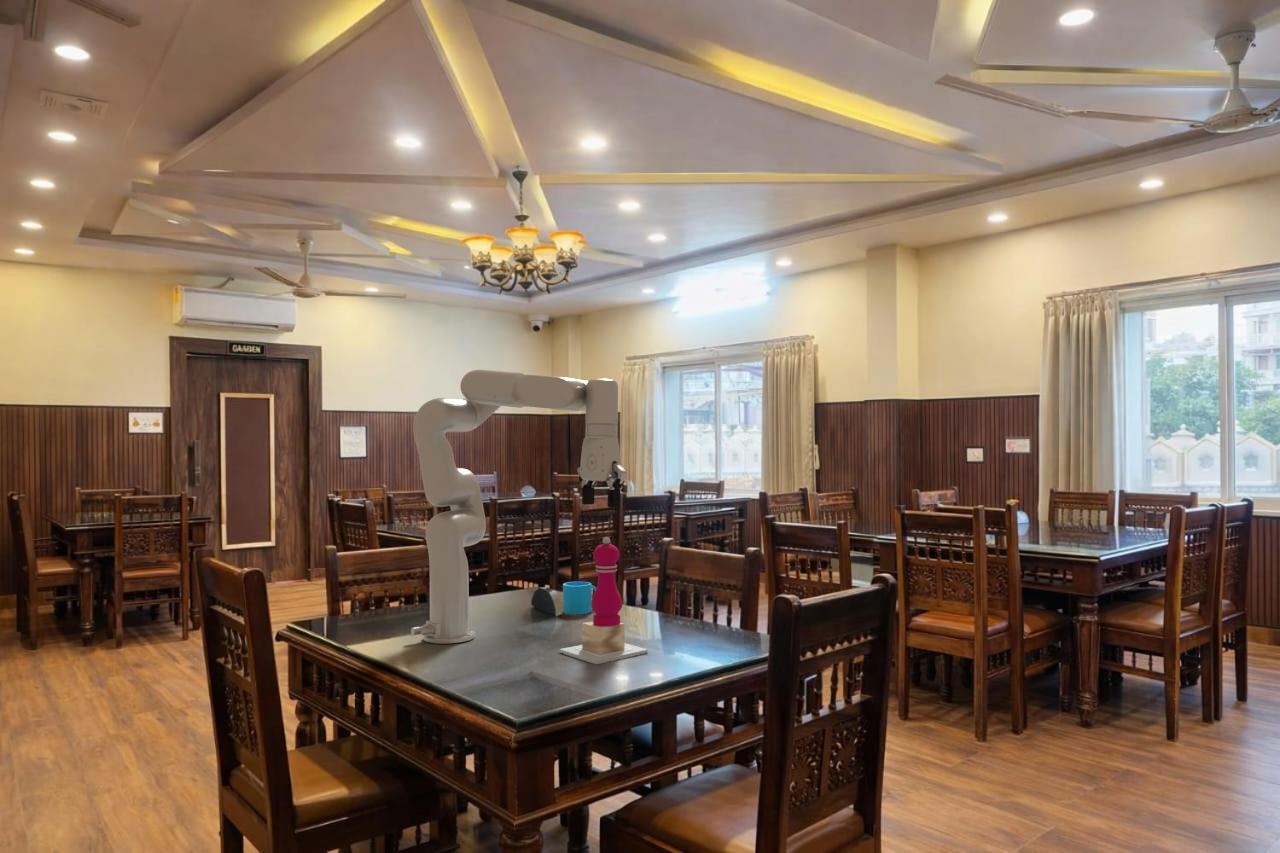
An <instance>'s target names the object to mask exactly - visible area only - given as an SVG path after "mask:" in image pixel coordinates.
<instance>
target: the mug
mask: <svg viewBox="0 0 1280 853" xmlns="http://www.w3.org/2000/svg"><path fill="white" fill-rule="evenodd" d="M596 588H597V586H595V585H592V583H591V582H589V581H567V582H564V583H563V584H562V613H563V612H564V613H567V614H586V615H588V614H587V613H590V612H591V611H593V610H592V608H591V601H592V598H593V596H592V589H593V590H594V591H595V590H596ZM564 613H563V614H564ZM591 613H592V612H591ZM591 613H590V614H591ZM567 614H566V615H567Z"/></svg>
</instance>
